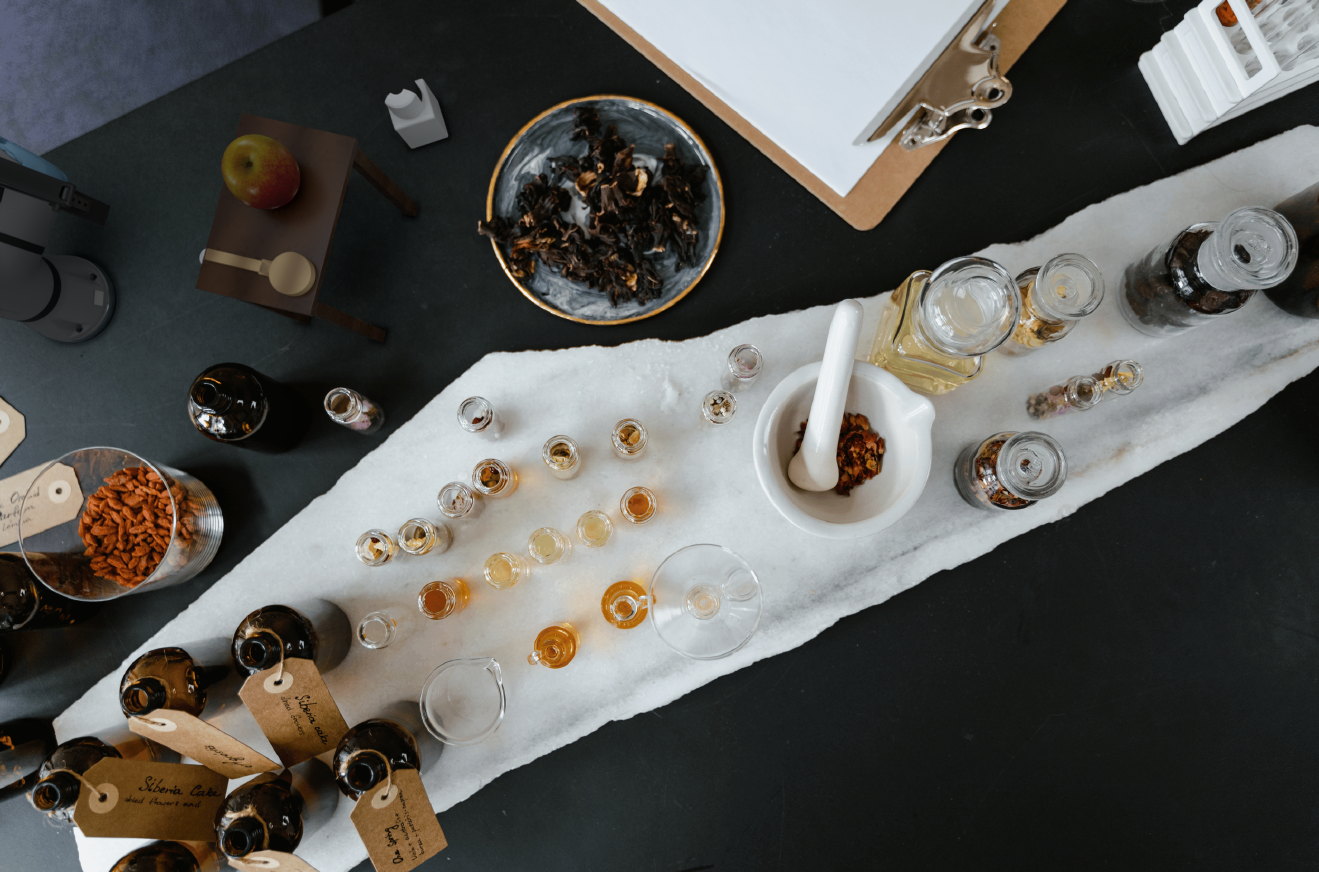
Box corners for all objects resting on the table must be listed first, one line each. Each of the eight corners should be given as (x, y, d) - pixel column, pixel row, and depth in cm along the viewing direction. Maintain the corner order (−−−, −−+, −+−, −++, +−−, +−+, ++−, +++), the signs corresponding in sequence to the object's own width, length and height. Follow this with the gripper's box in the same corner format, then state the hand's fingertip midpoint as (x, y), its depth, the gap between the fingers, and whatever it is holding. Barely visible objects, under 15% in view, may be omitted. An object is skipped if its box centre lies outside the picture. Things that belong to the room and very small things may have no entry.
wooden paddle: (205, 276, 94) (199, 273, 92) (216, 235, 94) (210, 232, 93) (309, 300, 93) (304, 298, 92) (320, 259, 93) (315, 256, 92)
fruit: (286, 229, 94) (249, 208, 86) (234, 197, 94) (192, 172, 86) (322, 172, 94) (289, 145, 86) (270, 140, 94) (232, 110, 86)
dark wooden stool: (293, 323, 118) (194, 288, 94) (330, 183, 118) (241, 112, 94) (385, 345, 117) (309, 315, 93) (421, 204, 118) (355, 137, 94)
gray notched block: (400, 112, 119) (368, 73, 107) (438, 100, 118) (410, 59, 106) (411, 149, 118) (381, 114, 106) (449, 137, 118) (423, 100, 106)
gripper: (-30, 101, 60) (156, 196, 81) (-283, 43, 61) (-34, 152, 82) (-52, 181, 60) (140, 255, 81) (-306, 122, 61) (-50, 210, 82)
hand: (53, 203), depth 81 cm, fingers open, 13 cm apart
